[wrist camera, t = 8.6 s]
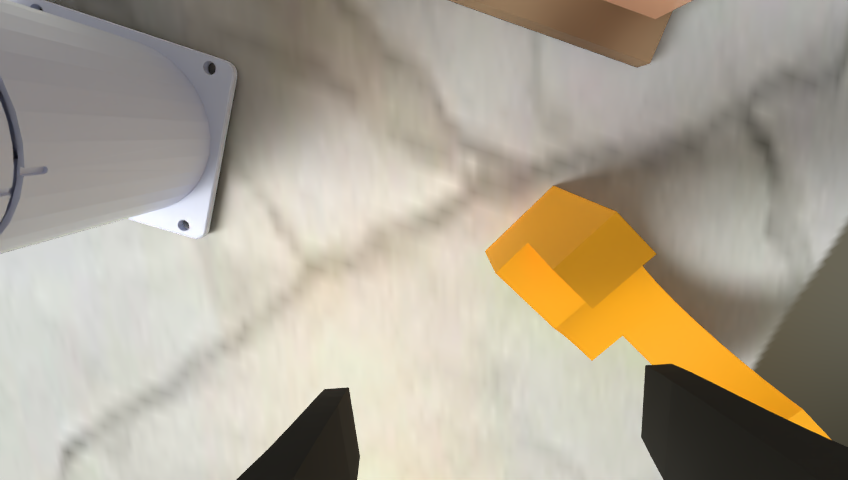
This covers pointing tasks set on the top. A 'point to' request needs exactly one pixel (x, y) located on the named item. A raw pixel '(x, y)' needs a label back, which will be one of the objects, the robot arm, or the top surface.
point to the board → (584, 25)
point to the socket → (650, 6)
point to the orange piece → (615, 295)
